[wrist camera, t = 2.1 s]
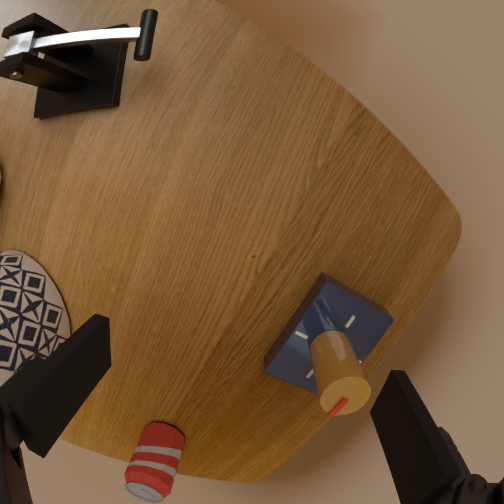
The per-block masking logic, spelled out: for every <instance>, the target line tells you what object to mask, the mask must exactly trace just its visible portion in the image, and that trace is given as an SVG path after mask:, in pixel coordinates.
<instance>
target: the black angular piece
mask: <svg viewBox="0 0 504 504" xmlns="http://www.w3.org/2000/svg"><path fill="white" fill-rule="evenodd" d="M111 28H130V27H129V26H128V25H127V24H121V25H117V26H112V27H108V28H104V29H111ZM31 31H35V32H36V33H37V35H38V36H39V37H40V38H41V37H46V36H52V35H57V34H64V33H69V32H68V31H66V30H64V29H63V28H61V27H59V26H57V25H56V24H54V23H52V22H51V21H49V20H47V19H45V18H44V17H42V16H40V15H38V14H36V13H33V14H30V15H28V16H26V17H24V18H22V19H20V20H18V21H16V22H14V23H13V24H11V25H9V26H7V27H5V28H4V30H3V33H2V36H1V37H3V38H6V39H9V37H10V36H14V35H18V34H22V33H26V32H31ZM127 47H128V42H111V43H97V44H86V45H77V46H69V47H61V48H55V49H49V50H43V51H39V52H41V53H43V54H45V55H44V59H41V58H39V57H36V56H34V55H31V54H29V53H26V52H20V53H18V54H16V55H13V56H11V57H9V58H7V59H5V60H3V61H1V62H0V77H4V78H7V79H11V80H15V81H19V82H23V83H26V84H30V85H34V86H37V87H38V91H37V97H36V104H35V111H34V118H39V119H42V118H47V117H52V116H57V115H62V114H67V113H73V112H78V111H85V110H91V109H98V108H105V107H113V106H119V101H120V92H121V85H122V77H123V71H124V64H125V58H126V53H127Z"/></svg>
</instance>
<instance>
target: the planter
mask: <svg viewBox="0 0 504 504" xmlns="http://www.w3.org/2000/svg"><path fill="white" fill-rule="evenodd" d="M70 336H71V335H70V324H69V319H68V315H67V312H66V308H65V306H64V303H63V301H62V298H61V296H60V294H59V292H58V290H57V288H56V286H55V285H54V283H53V281H52V280H51V278H50V277H49V276H48V274H47V273H46V272H45V270H44V269H43V268H42V267H41V266H40V265H39V264H38V263H37V262H36V261H35V260H33V259H32V258H31V257H29V256H28V255H26V254H25V253H22V252H19V251H16V250H7V251H3V252H1V253H0V386H1V385H3V384H4V383H5V382H6V381H7V380H8V379H9V378H10V377H11V376H12V375H13V374H14V375H15V372H17V371H18V370H19V369H21V367H22V366H23V365H24V364H25V363H26V362H28V361H29V360H31V359H34V358H36V357H38V356H39V357H41V358H44V359H46V358H47V357H48V356H49V355H50V354H51V353H52V352H53V351H54V350H55V349H57V348H58V347H59V346H60V345H61V344H62V343H63V342H64V341H65V340H66V339H67V338H69V337H70Z"/></svg>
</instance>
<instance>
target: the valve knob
mask: <svg viewBox="0 0 504 504" xmlns="http://www.w3.org/2000/svg"><path fill="white" fill-rule="evenodd" d="M309 352H310V357H311V362H312V367H313V371H314V376H315V381H316V386H317V391H318V395H319V400H320V405H321V407H322V408H323V410H324V411H326V412H327V413H328V414H329V415H330V416H333V417H334V416H335V415H346V414H349V413H352V412H355V411H356V410H358V409H360V408H361V407H362V406H364V404H365V403H366V402H367V401H368V399H369V397H370V394H371V387H370V385H369V382H368V380H367V378H366V375H365V373H364V371H363V369H362V366H361V364H360V362H359V360H358V357H357V355H356V353H355V351H354V349H353V346H352V344H351V342H350V340H349V338H348V337H347V335H345V334H344V333H342V332H340V331H335V330H332V331H326V332H323V333H321V334H320V335H318V336H317V337H316V338H315V339H314V340H313V341H312V343H311V345H310V349H309Z"/></svg>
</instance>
